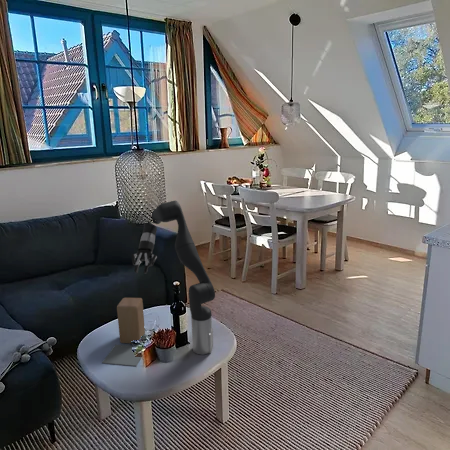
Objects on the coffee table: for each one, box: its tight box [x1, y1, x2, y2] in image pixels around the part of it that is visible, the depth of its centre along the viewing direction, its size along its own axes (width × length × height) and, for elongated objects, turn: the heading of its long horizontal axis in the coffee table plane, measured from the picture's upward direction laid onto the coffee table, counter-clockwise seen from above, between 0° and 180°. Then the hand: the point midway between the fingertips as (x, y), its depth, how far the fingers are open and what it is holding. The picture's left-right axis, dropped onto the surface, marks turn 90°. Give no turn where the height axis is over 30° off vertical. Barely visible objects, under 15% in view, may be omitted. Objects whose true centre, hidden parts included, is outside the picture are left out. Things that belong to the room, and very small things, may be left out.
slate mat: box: [101, 344, 142, 367], centre depth 183 cm, size 16×14×1 cm
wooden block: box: [116, 297, 146, 344], centre depth 193 cm, size 10×10×20 cm
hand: (140, 272), depth 204 cm, fingers open, 4 cm apart
